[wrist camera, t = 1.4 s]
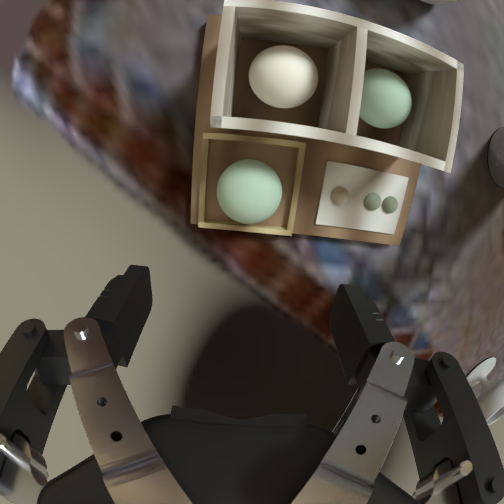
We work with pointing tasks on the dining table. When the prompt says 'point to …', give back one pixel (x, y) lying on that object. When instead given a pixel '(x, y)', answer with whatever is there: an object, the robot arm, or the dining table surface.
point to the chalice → (488, 391)
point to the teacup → (438, 1)
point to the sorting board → (320, 122)
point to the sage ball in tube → (384, 99)
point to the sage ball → (249, 191)
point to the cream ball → (283, 76)
